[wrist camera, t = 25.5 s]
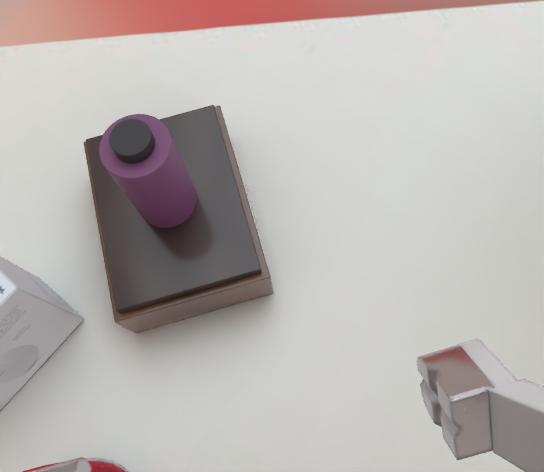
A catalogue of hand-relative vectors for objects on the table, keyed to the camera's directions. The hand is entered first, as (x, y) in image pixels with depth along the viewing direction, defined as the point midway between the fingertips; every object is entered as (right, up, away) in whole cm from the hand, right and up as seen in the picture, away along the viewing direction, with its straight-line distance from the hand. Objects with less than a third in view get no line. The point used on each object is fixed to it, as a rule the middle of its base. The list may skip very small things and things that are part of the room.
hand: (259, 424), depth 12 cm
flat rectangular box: (-7, +5, +33) cm, 35 cm away
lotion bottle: (-8, +7, +28) cm, 30 cm away
